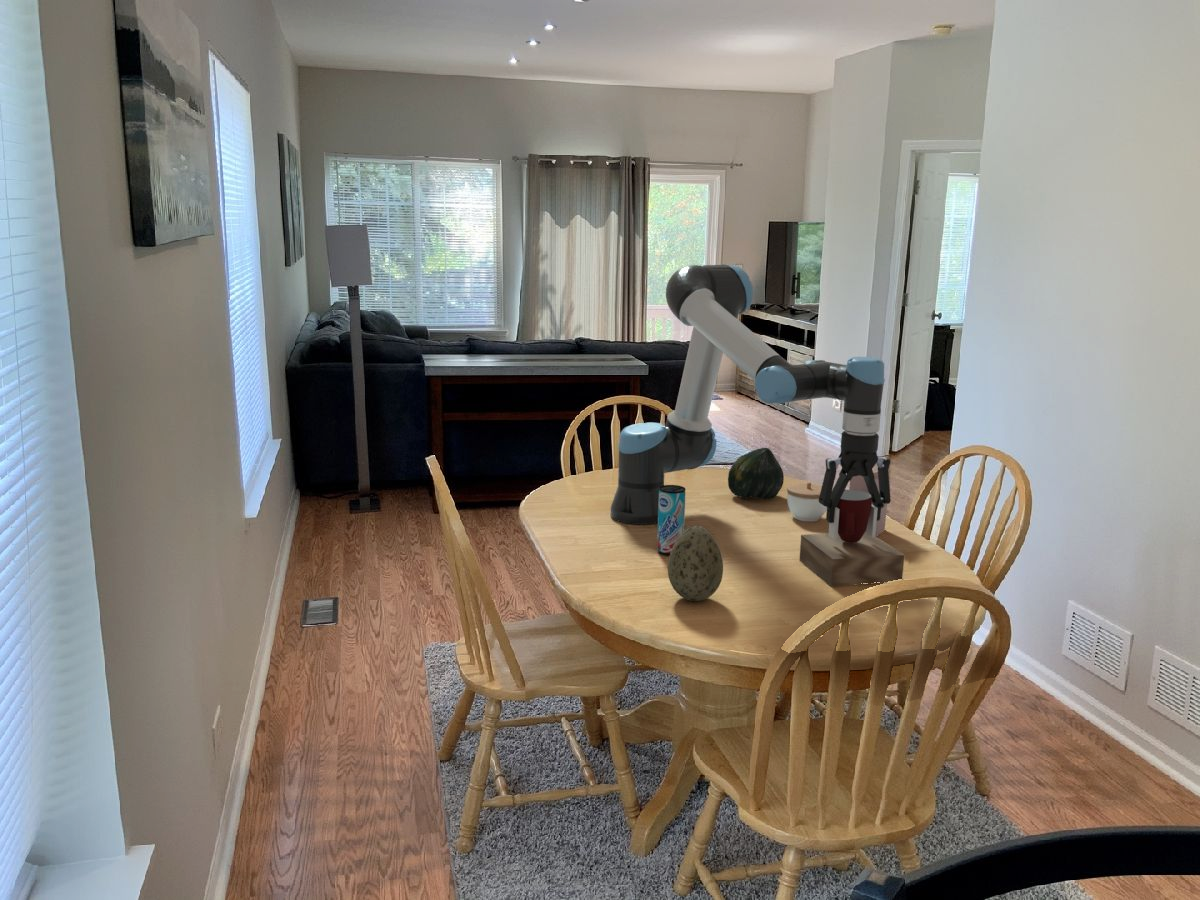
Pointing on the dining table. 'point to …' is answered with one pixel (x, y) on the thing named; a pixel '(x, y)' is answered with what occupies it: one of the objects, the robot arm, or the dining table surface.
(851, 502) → the mug
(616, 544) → the dining table surface
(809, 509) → the lidded jar
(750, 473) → the squash
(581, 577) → the dining table surface
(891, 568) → the walnut block
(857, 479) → the greeting card
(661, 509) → the beverage can
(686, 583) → the decorative egg
